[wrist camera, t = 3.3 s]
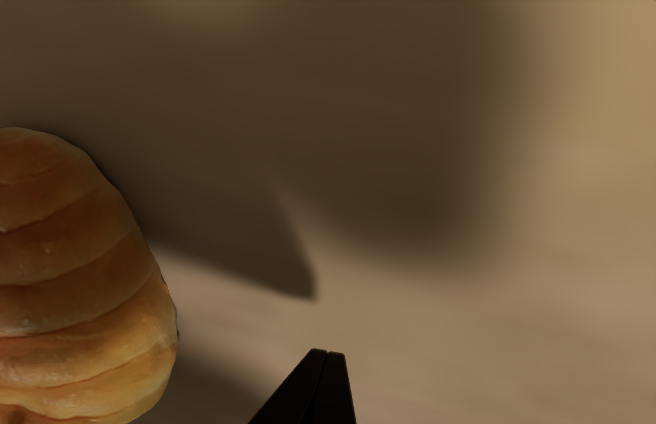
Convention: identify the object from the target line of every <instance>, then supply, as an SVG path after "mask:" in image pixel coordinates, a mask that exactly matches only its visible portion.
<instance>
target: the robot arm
mask: <svg viewBox="0 0 656 424" xmlns="http://www.w3.org/2000/svg"><path fill="white" fill-rule="evenodd" d="M247 424H357V423H356V417H355V411H354V406H353V400H352V394H351V388H350V383H349V377H348V371H347V366H346V360H345V356H344V354H343V353H338V352H332V351H330V352H329V353H328V352H327V351H326V350H321V349H316V348H313V349H311V350H310V351H309V352H308V353H307V354H306V356H305V357H304V358H303V359H302V360H301V361H300V363H299V364H298V365H297V366H296V367H295V368H294V370H293V371H292V372H291V373H290V374H289V375H288V377H287V378H286V379H285V380H284V381H283V382H282V384H281V385H280V386H279V387H278V388H277V389H276V391H275V392H274V393H273V394H272V395H271V396H270V398H269V399H268V400H267V401H266V402H265V403H264V405H263V406H262V407H261V408H260V409H259V410H258V412H257V413H256V414H255V415H254V416H253V417H252V419H251V420H250V421H249V422H248V423H247Z"/></svg>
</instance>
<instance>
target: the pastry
mask: <svg viewBox="0 0 656 424" xmlns="http://www.w3.org/2000/svg"><path fill="white" fill-rule="evenodd" d="M176 319H177V313H176V310H175V307H174V305H173V302H172V299H171V297H170V294H169V290H168V287H167V285H166V284H165V283H164V281H163V280H162V277H161V273H160V269H159V266H158V264H157V262H156V260H155V258H154V257H153V255H152V253H151V251H150V249H149V247H148V245H147V243H146V241H145V239H144V236H143V234H142V232H141V229H140V227H139V225H138V223H137V221H136V219H135V217H134V216H133V214H132V212H131V210H130V208H129V206H128V204H127V202H126V201H125V199H124V198H123V196H122V194H121V193H120V191H119V190H118V189H116V188H115V187H114V186H113V185H112V184H111V183H110V182H109V181H108V180H107V179H106V178H105V177H104V176H103V175H102V174H101V172H100V171H99V170H98V168H97V167H96V165H95V164H94V162H93V161H92V160H91V158H90V157H89V156H88V155H87V154H86V153H85V152H84V151H83V150H82V149H80V148H78V147H75V146H74V145H72V144H70V143H68V142H67V141H65V140H63V139H62V138H60V137H58V136H56V135H52V134H49V133H44V132H39V131H33V130H30V129H26V128H21V127H5V128H0V424H127V423H129V422H130V421H132V420H134V419H136V418H138V417H139V416H140V415H142V414H143V413H145V412H146V411H148V410H150V409H151V408H152V407H153V406H154V405H155V404H156V403H157V402H158V401H159V400H160V398H161V397H162V395H163V393H164V391H165V389H166V386H167V383H168V381H169V378H170V375H171V371H172V367H173V364H174V362H175V359H176V355H177V349H178V343H179V341H178V337H177V328H176ZM179 339H180V338H179Z"/></svg>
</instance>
